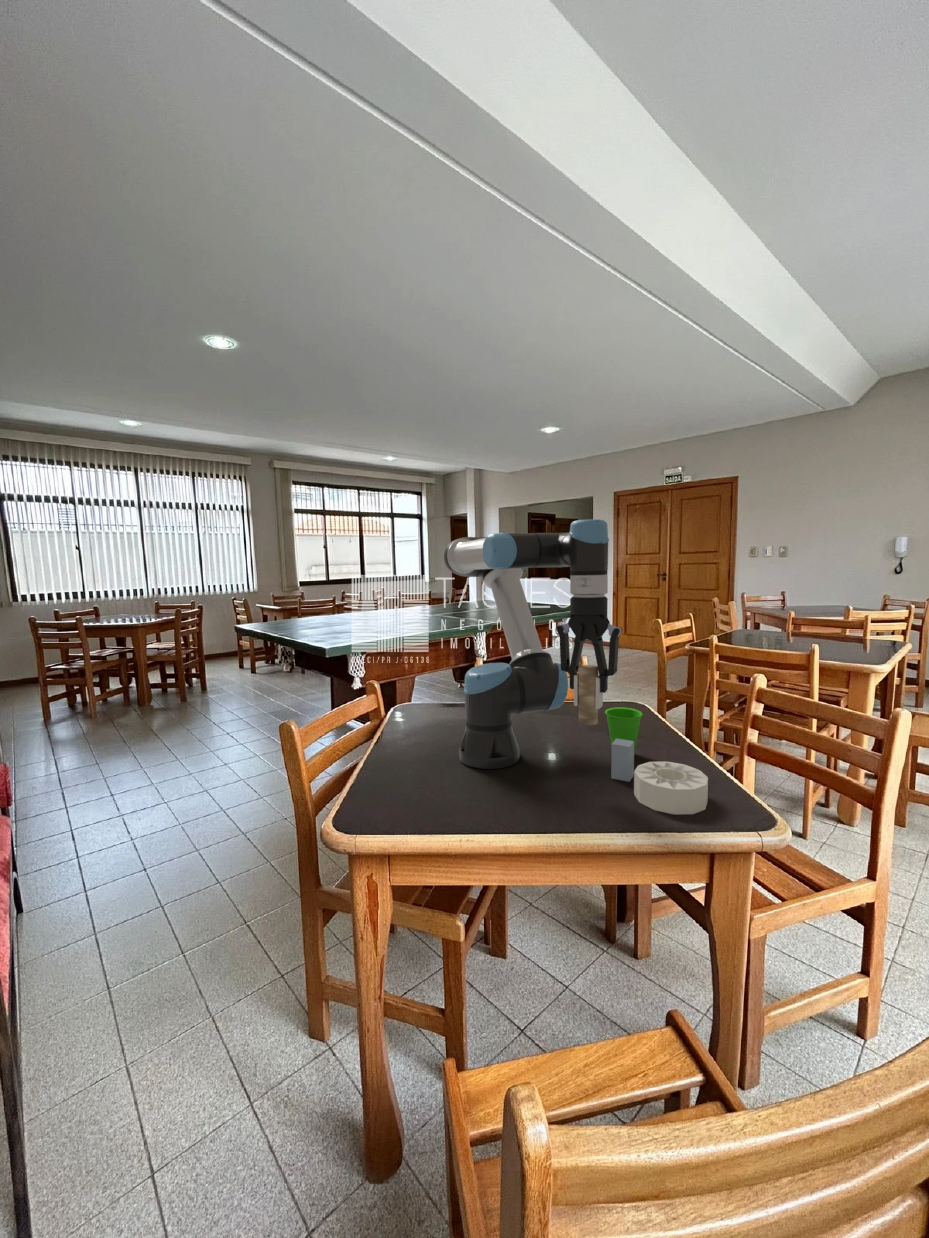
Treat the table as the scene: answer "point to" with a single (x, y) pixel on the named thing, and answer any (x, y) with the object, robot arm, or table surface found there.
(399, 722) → the table surface
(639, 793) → the socket
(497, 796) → the table surface
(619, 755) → the square peg
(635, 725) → the cup
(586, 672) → the dowel
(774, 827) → the table surface
